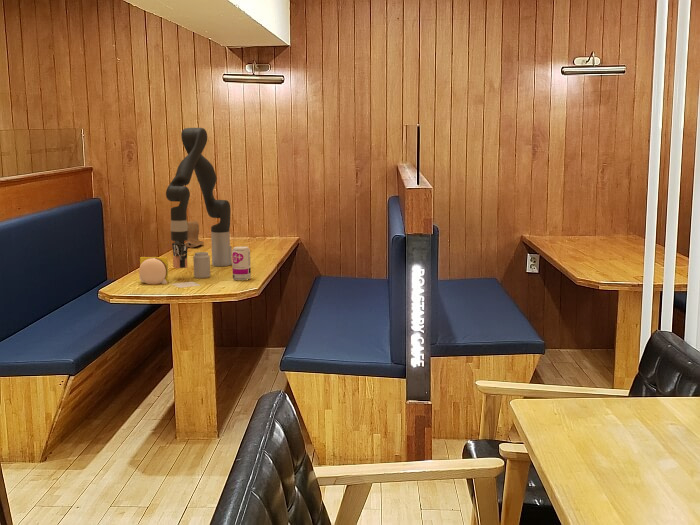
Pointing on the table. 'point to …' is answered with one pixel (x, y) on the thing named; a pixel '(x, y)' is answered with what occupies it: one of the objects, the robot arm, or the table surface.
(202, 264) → the can
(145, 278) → the hamburger
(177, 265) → the block
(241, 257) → the supplement can
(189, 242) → the brown boot
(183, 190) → the robot arm
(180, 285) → the pad
